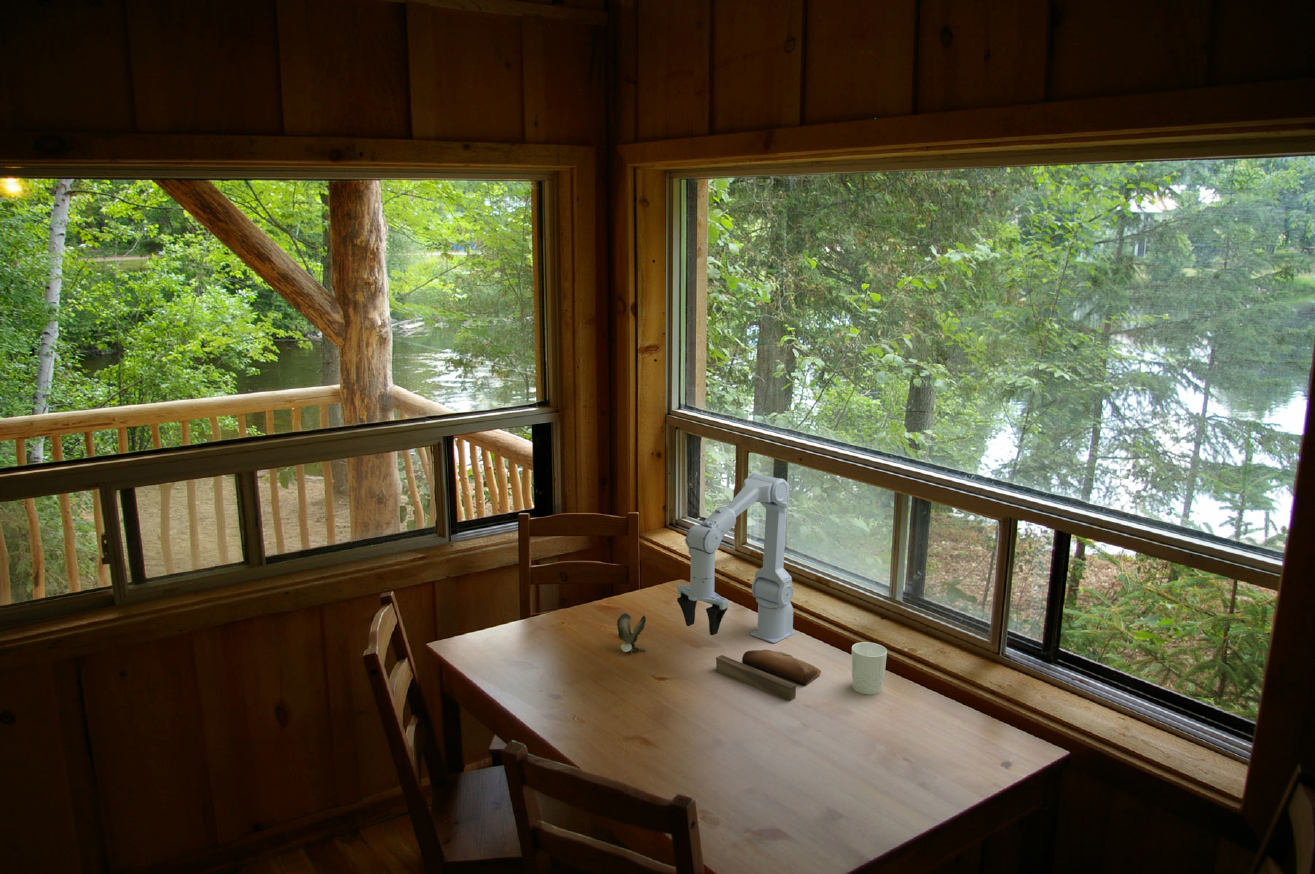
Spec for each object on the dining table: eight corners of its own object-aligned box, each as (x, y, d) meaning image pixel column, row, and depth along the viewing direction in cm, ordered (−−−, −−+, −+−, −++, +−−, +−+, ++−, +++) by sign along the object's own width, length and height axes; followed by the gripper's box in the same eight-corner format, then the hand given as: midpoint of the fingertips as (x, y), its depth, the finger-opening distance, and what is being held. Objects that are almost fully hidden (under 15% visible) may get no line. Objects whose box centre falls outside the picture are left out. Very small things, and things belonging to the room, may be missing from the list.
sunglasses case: (823, 669, 212) (815, 654, 208) (811, 694, 209) (802, 680, 205) (760, 649, 223) (751, 634, 219) (747, 672, 220) (738, 658, 216)
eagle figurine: (647, 644, 229) (647, 611, 228) (646, 656, 222) (646, 622, 221) (617, 644, 230) (617, 611, 228) (615, 655, 223) (615, 622, 221)
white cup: (845, 692, 204) (847, 652, 202) (855, 679, 211) (856, 639, 209) (880, 700, 200) (882, 659, 198) (888, 686, 207) (890, 646, 205)
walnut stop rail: (721, 667, 216) (721, 654, 215) (796, 698, 201) (796, 684, 200) (715, 670, 215) (715, 657, 214) (790, 702, 199) (790, 688, 199)
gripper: (668, 572, 213) (668, 625, 215) (714, 587, 203) (713, 643, 205) (688, 565, 218) (688, 617, 220) (734, 579, 207) (733, 634, 210)
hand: (701, 629), depth 213 cm, fingers open, 7 cm apart
